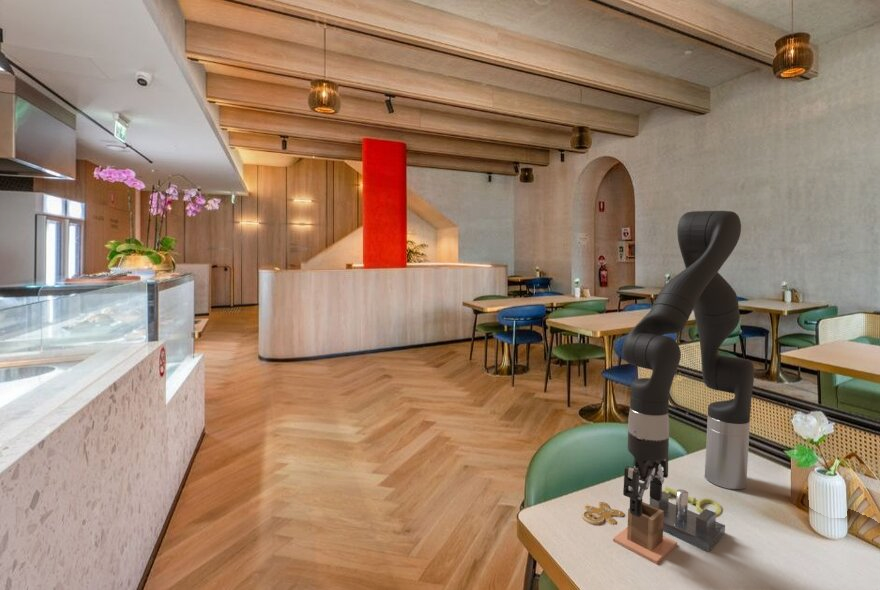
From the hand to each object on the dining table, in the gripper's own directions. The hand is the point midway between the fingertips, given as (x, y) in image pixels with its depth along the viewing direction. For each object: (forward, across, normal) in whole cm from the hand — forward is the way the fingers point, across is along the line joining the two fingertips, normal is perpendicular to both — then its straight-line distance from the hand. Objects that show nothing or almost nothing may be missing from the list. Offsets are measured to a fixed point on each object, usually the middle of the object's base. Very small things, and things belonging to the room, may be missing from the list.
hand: (645, 506), depth 89 cm
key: (+9, -23, +1) cm, 25 cm away
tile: (+8, 0, 0) cm, 8 cm away
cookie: (+8, -2, -11) cm, 14 cm away
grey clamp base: (+8, -11, +3) cm, 14 cm away
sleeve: (+7, 0, 0) cm, 7 cm away
